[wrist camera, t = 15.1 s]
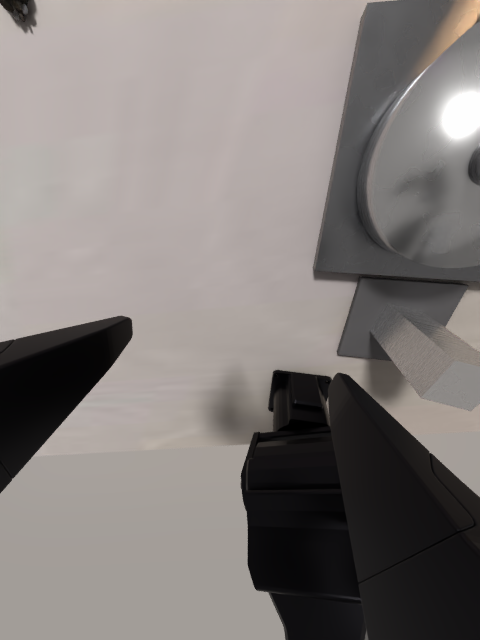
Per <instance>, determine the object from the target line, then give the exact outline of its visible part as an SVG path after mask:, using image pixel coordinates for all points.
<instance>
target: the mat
mask: <svg viewBox="0 0 480 640" xmlns="http://www.w3.org/2000/svg"><path fill="white" fill-rule="evenodd" d="M467 287H468V285H466V284H461V283H446V282H431V281H416V280H401V279H386V278H372V277H360V278H359V281H358V284H357V287H356V291H355V294H354V297H353V301H352V304H351V307H350V311H349V314H348V317H347V320H346V324H345V327H344V330H343V334H342V337H341V340H340V344H339V347H338V350H337V353H338V355H345V356H354V357H362V358H371V359H380V360H389V361H392V360H391V358H390V357H389V356H388V354H387V353H386V352H385V350H384V349H383V348H382V346H381V345H380V344H379V342H378V341H377V340H376V339H375V337H374V336H373V335H372V333H371V332H370V330H371V328H372V327H373V325H374V323H375V322H376V320H377V318H378V317H379V315H380V313H381V312H382V310H383V308H384V307H385V305H386V303H391V304H395V305H399V306H403V307H407V308H411V309H415V310H419V311H422V312H424V313H425V314H426V315H428V316H429V317H431V318H432V319H434V320H435V321H436V322H438V323H439V324H441V325H442V326H443V327H445V326H446V325H447V323H448V321H449V319H450V318H451V316H452V314H453V312H454V310H455V309H456V307H457V305H458V303H459V302H460V300H461V298H462V296H463V294H464V293H465V291H466V289H467Z"/></svg>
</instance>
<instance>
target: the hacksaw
mask: <svg viewBox="0 0 480 640" xmlns="http://www.w3.org/2000/svg"><path fill="white" fill-rule="evenodd" d="M27 2H28V0H0V3H1V5H2V6H3V7H4V9H6V10H8V11H10V12H12V13H13V17H14V19H15V20H16V21H19V18H20V17H21V19H22V21H25V19H24V16H23V14H25V15H27V13H28V8H27V7H26V6H27ZM19 14H20V16H19Z"/></svg>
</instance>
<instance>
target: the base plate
mask: <svg viewBox="0 0 480 640" xmlns="http://www.w3.org/2000/svg"><path fill="white" fill-rule="evenodd" d="M479 21H480V0H397V1H385V2H373V3H367V6H366V8H365V10H364V12H363V15H362V17H361V21H360V26H359V31H358V36H357V41H356V47H355V52H354V57H353V62H352V67H351V73H350V78H349V83H348V88H347V94H346V99H345V104H344V109H343V114H342V120H341V125H340V130H339V135H338V140H337V146H336V151H335V156H334V161H333V166H332V172H331V177H330V182H329V187H328V193H327V198H326V203H325V208H324V213H323V219H322V224H321V229H320V234H319V239H318V245H317V250H316V255H315V260H314V266H313V269H314V270H315V271H326V272H341V273H356V274H371V275H387V276H402V277H417V278H432V279H447V280H463V281H478V282H480V265H477V266H472V267H464V268H439V267H432V266H428V265H424V264H420V263H418V262H415V261H413V260H410V259H407V258H405V257H402V256H399V255H397V254H394V253H392V252H389V251H388V250H386V249H384V248H383V247H381V246H380V245H379V244H378V243H376V242H375V241H374V240H373V239H372V237H371V236H370V235H369V234H368V232H367V230H366V229H365V227H364V225H363V223H362V220H361V217H360V214H359V209H358V203H357V182H358V176H359V170H360V166H361V163H362V159H363V156H364V153H365V151H366V148H367V146H368V143H369V141H370V139H371V137H372V135H373V133H374V131H375V129H376V127H377V126H378V124H379V122H380V121H381V119H382V118H383V116H384V114H385V113H386V111H387V110H388V109H389V108H390V106H391V105H392V104H393V102H394V101H395V100H396V98H397V97H398V96H399V95H400V94H401V93H402V92H403V91H404V90H405V89H406V87H407V86H408V85H409V84H410V83H411V82H412V81H413V80H414V79H415V78H417V77H418V76H419V75H420V74H421V73H422V72H423V71H424V70H425V69H426V68H427V67H428V66H429V65H430V64H431V63H432V62H434V61H435V60H436V59H437V58H438V57H439V56H440V55H441V54H442V53H443V52H444V51H445V50H446V49H447V48H448V47H449V46H451V45H452V44H453V43H454V42H455V41H456V40H457V39H458V38H459V37H460V36H462V35H463V34H464V33H465V32H466V31H467V30H468V29H470V28H471V27H472V26H474V25H475V24H476V23H477V22H479Z"/></svg>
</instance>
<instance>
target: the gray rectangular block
mask: <svg viewBox="0 0 480 640" xmlns="http://www.w3.org/2000/svg"><path fill="white" fill-rule="evenodd" d="M370 332H371V333H372V335H373V336H374V337H375V339H376V340H377V341H378V342H379V344H380V345H381V346H382V348H383V349H384V350H385V352H386V353H387V354H388V356H389V357H390V358H391V360H392V361H393V362H394V363H395V365H396V366H397V367H398V369H399V370H400V371H401V373H402V374H403V375H404V377H405V378H406V379H407V381H408V382H409V383H410V385H411V386H412V387H413V388H414V390H415V391H416V392H417V394H418V395H419V396H420V398H423V399H426V400H430V401H434V402H438V403H442V404H445V405H449V406H453V407H457V408H461V409H465V410H468V411H472V410H473V409H474V408H475V407H476V406H477V405H478V404H480V352H479V351H477V350H476V349H475V348H473V347H472V346H470V345H469V344H468V343H466V342H465V341H463V340H462V339H460V338H459V337H458V336H456V335H455V334H453V333H452V332H451V331H449V330H448V329H446V328H445V327H443V326H442V325H441V324H439V323H438V322H436V321H435V320H434V319H432V318H431V317H429V316H428V315H426V314H425V313H424V312H422V311H419V310H415V309H411V308H407V307H403V306H399V305H395V304H391V303H386V305H385V307H384V308H383V310H382V312H381V313H380V315H379V317H378V318H377V320H376V322H375V323H374V325H373V327H372V328H371V330H370Z"/></svg>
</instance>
